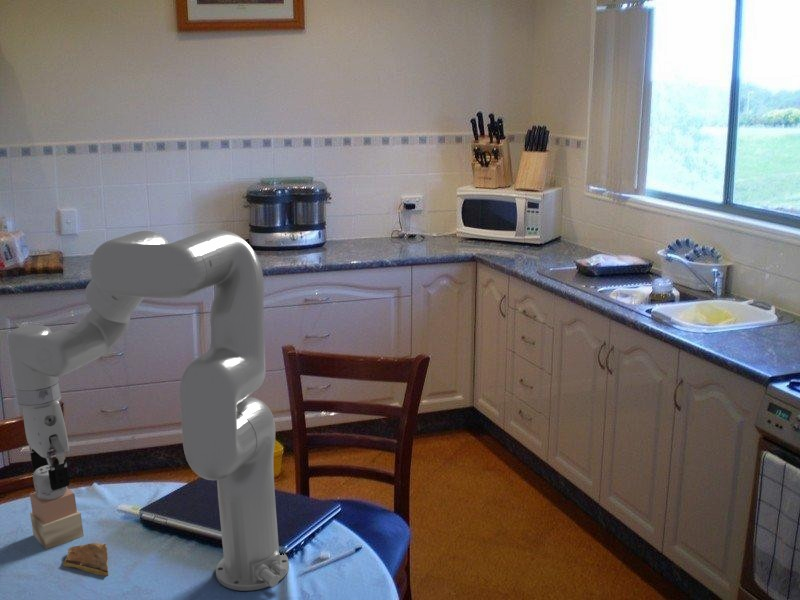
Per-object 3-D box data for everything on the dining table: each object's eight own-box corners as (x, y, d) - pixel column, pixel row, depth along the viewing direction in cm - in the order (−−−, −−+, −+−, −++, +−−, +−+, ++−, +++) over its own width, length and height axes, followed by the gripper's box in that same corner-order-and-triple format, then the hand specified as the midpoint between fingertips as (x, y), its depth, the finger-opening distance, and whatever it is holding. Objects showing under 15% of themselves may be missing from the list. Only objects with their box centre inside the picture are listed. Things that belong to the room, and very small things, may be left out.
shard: (108, 579, 152) (107, 570, 152) (62, 588, 150) (60, 579, 149) (108, 548, 162) (106, 539, 162) (64, 556, 160) (62, 547, 159)
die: (68, 495, 163) (65, 471, 162) (40, 503, 161) (36, 478, 159) (62, 485, 167) (59, 461, 166) (35, 492, 165) (31, 468, 163)
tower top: (77, 512, 165) (74, 493, 164) (45, 524, 161) (42, 504, 160) (63, 501, 169) (60, 483, 168) (32, 513, 165) (29, 493, 164)
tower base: (83, 536, 166) (80, 513, 165) (46, 550, 162) (43, 526, 160) (70, 523, 171) (66, 500, 170) (33, 536, 167) (30, 512, 165)
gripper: (76, 400, 155) (88, 488, 159) (43, 376, 168) (55, 458, 172) (33, 411, 150) (46, 501, 155) (2, 386, 163) (15, 469, 167)
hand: (51, 478), depth 163 cm, fingers open, 9 cm apart
